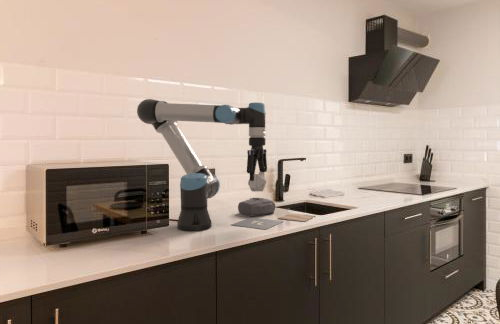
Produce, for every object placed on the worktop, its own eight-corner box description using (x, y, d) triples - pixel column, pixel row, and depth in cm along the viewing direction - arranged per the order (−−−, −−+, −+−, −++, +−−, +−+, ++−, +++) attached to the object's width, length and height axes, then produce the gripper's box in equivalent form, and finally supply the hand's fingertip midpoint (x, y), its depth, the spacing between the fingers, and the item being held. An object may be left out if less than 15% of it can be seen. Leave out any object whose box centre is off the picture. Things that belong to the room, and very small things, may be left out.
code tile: (265, 229, 161) (265, 229, 161) (230, 225, 170) (230, 224, 170) (283, 221, 176) (283, 221, 176) (250, 217, 185) (250, 217, 185)
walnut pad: (304, 222, 175) (304, 221, 175) (277, 218, 182) (277, 218, 182) (315, 216, 187) (315, 215, 187) (289, 213, 194) (289, 213, 194)
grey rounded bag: (252, 218, 185) (281, 213, 198) (252, 201, 185) (281, 197, 197) (234, 213, 197) (263, 209, 209) (234, 197, 196) (263, 194, 209)
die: (260, 194, 166) (271, 176, 169) (243, 184, 167) (254, 166, 170) (259, 198, 174) (270, 180, 176) (243, 188, 175) (254, 171, 178)
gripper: (253, 136, 160) (253, 190, 161) (274, 137, 177) (274, 184, 179) (238, 137, 164) (238, 188, 165) (260, 137, 181) (260, 184, 183)
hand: (257, 186), depth 172 cm, fingers closed on die, 7 cm apart
